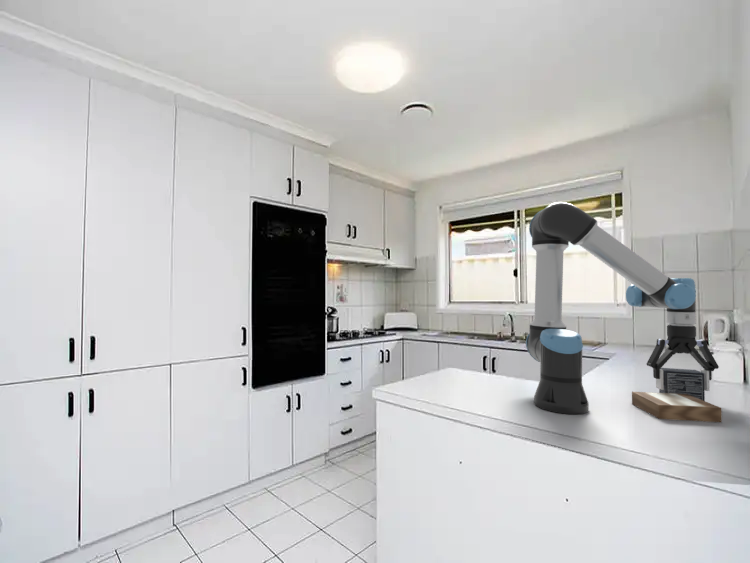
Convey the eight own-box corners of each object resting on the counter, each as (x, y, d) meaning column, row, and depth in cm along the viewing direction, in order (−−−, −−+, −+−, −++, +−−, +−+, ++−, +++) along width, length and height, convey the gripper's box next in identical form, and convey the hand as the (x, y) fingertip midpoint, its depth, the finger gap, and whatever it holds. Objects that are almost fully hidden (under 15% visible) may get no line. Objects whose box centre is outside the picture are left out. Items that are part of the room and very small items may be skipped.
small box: (696, 400, 126) (696, 369, 126) (705, 406, 120) (705, 373, 120) (658, 397, 129) (658, 366, 130) (665, 402, 123) (665, 370, 123)
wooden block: (658, 418, 107) (658, 404, 107) (632, 404, 121) (632, 391, 121) (721, 422, 105) (721, 407, 105) (687, 406, 119) (686, 393, 119)
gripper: (646, 325, 123) (647, 391, 123) (732, 326, 120) (733, 393, 119) (634, 323, 130) (635, 385, 130) (714, 324, 127) (715, 387, 127)
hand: (682, 389), depth 125 cm, fingers open, 13 cm apart
